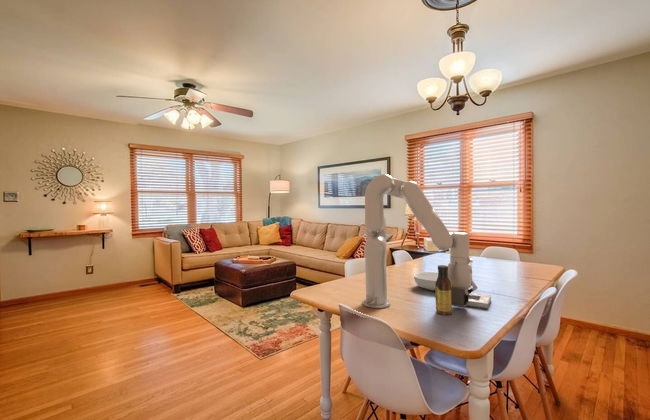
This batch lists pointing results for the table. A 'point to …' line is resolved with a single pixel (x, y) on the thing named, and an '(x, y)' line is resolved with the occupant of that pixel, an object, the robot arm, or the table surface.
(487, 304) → the socket plate
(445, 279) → the sauce bottle
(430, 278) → the serving bowl
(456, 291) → the plug
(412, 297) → the table surface
